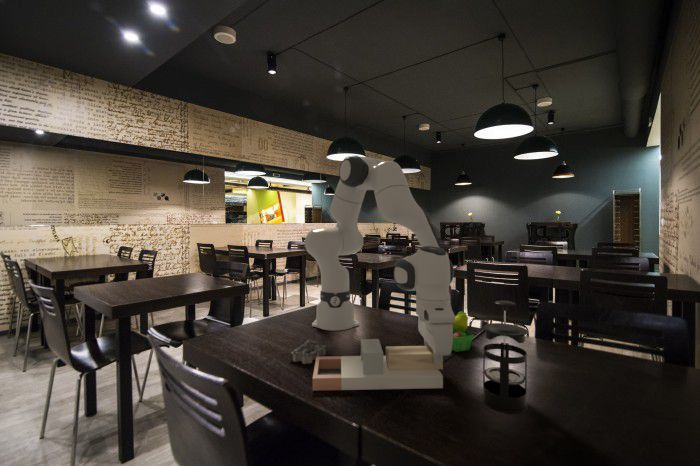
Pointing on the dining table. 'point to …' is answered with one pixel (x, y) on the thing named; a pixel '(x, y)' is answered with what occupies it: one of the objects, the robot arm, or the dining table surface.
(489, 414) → the dining table surface
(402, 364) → the maple bar
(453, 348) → the fruit basket
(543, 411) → the dining table surface
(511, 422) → the dining table surface
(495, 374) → the french press
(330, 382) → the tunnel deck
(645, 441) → the dining table surface
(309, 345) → the egg carton
